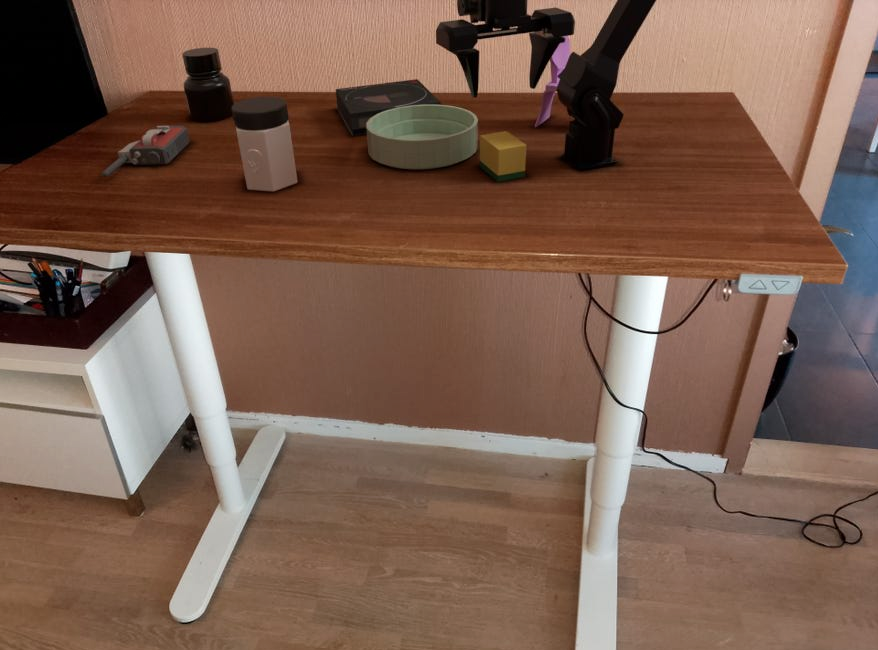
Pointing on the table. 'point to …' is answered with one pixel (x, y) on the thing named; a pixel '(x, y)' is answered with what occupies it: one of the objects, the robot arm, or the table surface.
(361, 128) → the portable cd player
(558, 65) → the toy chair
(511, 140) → the sponge
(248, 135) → the jar
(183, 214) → the table surface
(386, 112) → the bowl
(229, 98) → the ink bottle
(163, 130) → the walkie-talkie
